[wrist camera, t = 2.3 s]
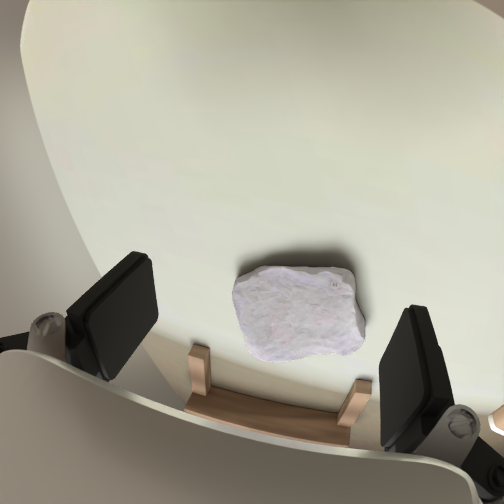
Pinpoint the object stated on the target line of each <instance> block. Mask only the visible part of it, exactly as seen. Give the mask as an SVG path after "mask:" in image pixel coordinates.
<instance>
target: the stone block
mask: <svg viewBox="0 0 504 504" xmlns="http://www.w3.org/2000/svg"><path fill="white" fill-rule="evenodd" d="M355 291H356V285H355V278H354V275H353V273H352V272H350V271H349V270H347V269H344V268H337V267H307V266H305V267H303V266H300V267H288V266H268V265H265V266H260V267H258V268H257V269H255V270H253V271H251V272H249V273H247V274H245V275H242V276H240V277H238V278H237V279H236V280H235V284H234V288H233V292H232V300H233V304H234V307H235V310H236V314H237V318H238V322H239V325H240V328H241V331H242V332H243V334H244V340H245V345H246V348H247V350H248V351H249V353H251V354H252V355H254V356H256V357H257V359H259V360H262V361H268V362H272V363H274V362H285V361H292V360H298V359H302V358H304V357H307V356H311V355H316V354H330V353H334V354H339V355H350V354H352V353H354V352H355V351H356V350H358V349H359V348H360V347H361V345H362V344H363V342H364V340H365V321H364V318H363V316H362V314H361V311H360V309H359V307H358V304H357V302H356V300H355Z"/></svg>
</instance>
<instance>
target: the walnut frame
mask: <svg viewBox="0 0 504 504" xmlns="http://www.w3.org/2000/svg"><path fill="white" fill-rule="evenodd" d="M188 360H189V368H190V376H191V384H192V391H193V392H192V394H191V396H190V398H189V400H188V402H187V404H186V406H185V408H184V410H185V413H188V414H191V415H194V416H197V417H201V418H204V419H207V420H211V421H214V422H217V423H221V424H225V425H228V426H232V427H236V428H240V429H244V430H248V431H252V432H256V433H261V434H265V435H270V436H274V437H279V438H284V439H289V440H295V441H301V442H307V443H313V444H320V445H327V446H334V447H342V448H348V446H349V441H350V430H351V426H352V425H353V423H354V422H355V420H356V418H357V417H358V415H359V414H360V412H361V411H362V409H363V408H364V406H365V404H366V403H367V401H368V399H369V398H370V396H371V381H363V380H357V379H356V380H355V382H354V384H353V386H352V388H351V390H350V392H349V394H348V396H347V398H346V400H345V401H344V403H343V405H342V407H341V409H340V411H339V413H338V414H337V413H330V412H324V411H318V410H312V409H306V408H301V407H296V406H291V405H286V404H281V403H276V402H272V401H267V400H263V399H259V398H255V397H250V396H246V395H242V394H239V393H235V392H231V391H227V390H224V389H220V388H217V387H213V386H211V372H210V349H209V348H206V347H203V346H199V345H196V344H194V346H193V347H192V349H191V351H190V352H189V354H188Z"/></svg>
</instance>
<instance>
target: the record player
mask: <svg viewBox="0 0 504 504" xmlns="http://www.w3.org/2000/svg"><path fill="white" fill-rule="evenodd" d="M488 420H489V424H490V427H491V429H492V430H493V431H495V432H497V433H499V434H502V435H504V405H503V406H502V407H500V408H499V409H498V410H496V411H495V412H493V413H492V414H490V415H489V416H488Z"/></svg>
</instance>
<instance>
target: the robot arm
mask: <svg viewBox="0 0 504 504" xmlns="http://www.w3.org/2000/svg"><path fill="white" fill-rule="evenodd" d="M66 312H67V315H68V316H67V317H66V318H64V317H63V315H61V314H59V313H55V312H49V313H45V314H42V315H40V316H39V317H37V318H36V319H35V320H34V321H33V323H32V324H31V327H30V332H26V333H21V334H16V335H12V336H7V337H2V338H0V504H504V458H503V457H502V456H501V455H500V454H498V453H497V452H496V451H495V450H494V449H493V448H492V447H490V446H489V445H488V444H487V443H486V442H485V441H484V440H482V439H481V438H480V437H479V436H478V435H479V433H480V421H479V418H478V416H477V414H476V413H475V412H474V411H473V410H472V409H471V408H469V407H467V406H465V405H461V404H459V405H455V403H454V398H453V394H452V389H451V385H450V380H449V376H448V372H447V368H446V364H445V361H444V357H443V353H442V350H441V348H440V346H439V345H438V342H437V338H436V335H435V331H434V328H433V325H432V322H431V319H430V315H429V312H428V309H427V307H424V306H418V305H410V307H409V308H405V309H404V311H403V313H402V315H401V318H400V320H399V322H398V324H397V327H396V329H395V331H394V333H393V335H392V338H391V340H390V342H389V344H388V346H387V348H386V350H385V352H384V354H383V356H382V358H381V361H380V364H379V383H380V415H381V446H382V447H385V452H384V451H371V450H360V449H351V448H342V447H334V446H327V445H320V444H313V443H307V442H301V441H295V440H289V439H284V438H279V437H274V436H270V435H265V434H261V433H256V432H252V431H248V430H244V429H240V428H236V427H232V426H228V425H225V424H221V423H217V422H214V421H211V420H207V419H204V418H201V417H197V416H194V415H191V414H188V413H185V412H182V411H179V410H176V409H173V408H170V407H168V406H165V405H162V404H159V403H157V402H154V401H151V400H149V399H146V398H144V397H141V396H138V395H136V394H134V393H131V392H129V391H126V390H124V389H122V388H119V387H117V386H115V385H113V384H110V383H108V382H109V381H110V380H113V379H114V378H115V377H116V376H117V374H118V373H119V372H120V370H121V369H122V367H123V366H124V365H125V363H126V362H127V361H128V359H129V358H130V357H131V355H132V354H133V352H134V351H135V349H136V348H137V347H138V346H139V344H140V343H141V342H142V340H143V339H144V338H145V336H146V335H147V333H148V332H149V331H150V329H151V328H152V327H153V325H154V324H155V323H156V321H157V319H158V307H157V300H156V292H155V285H154V277H153V269H152V261H151V259H150V258H148V255H147V254H145V253H140V252H135V251H132V252H131V253H129V254H128V255H127V256H126V257H125V258H124V259H122V260H121V261H120V262H119V263H118V264H117V265H116V266H114V267H113V268H112V269H111V270H110V271H109V272H108V273H106V274H105V275H104V276H103V277H102V278H101V279H100V280H99V281H98V282H96V283H95V284H94V285H93V286H92V287H91V288H90V289H89V290H88V291H87V292H85V294H83V295H82V296H81V297H80V298H79V299H78V300H77V301H76V302H75V303H74V304H73V305H72V306H71V307H69V308H68V309H67V310H66Z"/></svg>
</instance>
